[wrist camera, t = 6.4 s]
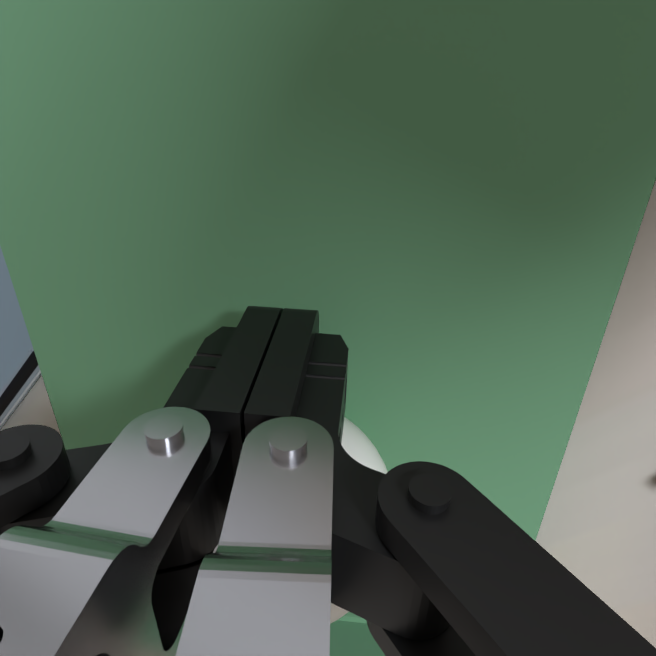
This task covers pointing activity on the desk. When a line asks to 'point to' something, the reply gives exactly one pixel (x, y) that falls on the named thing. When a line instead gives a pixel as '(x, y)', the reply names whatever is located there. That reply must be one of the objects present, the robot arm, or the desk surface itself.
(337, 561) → the robot arm
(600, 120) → the green
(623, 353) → the desk surface
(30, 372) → the smartphone
